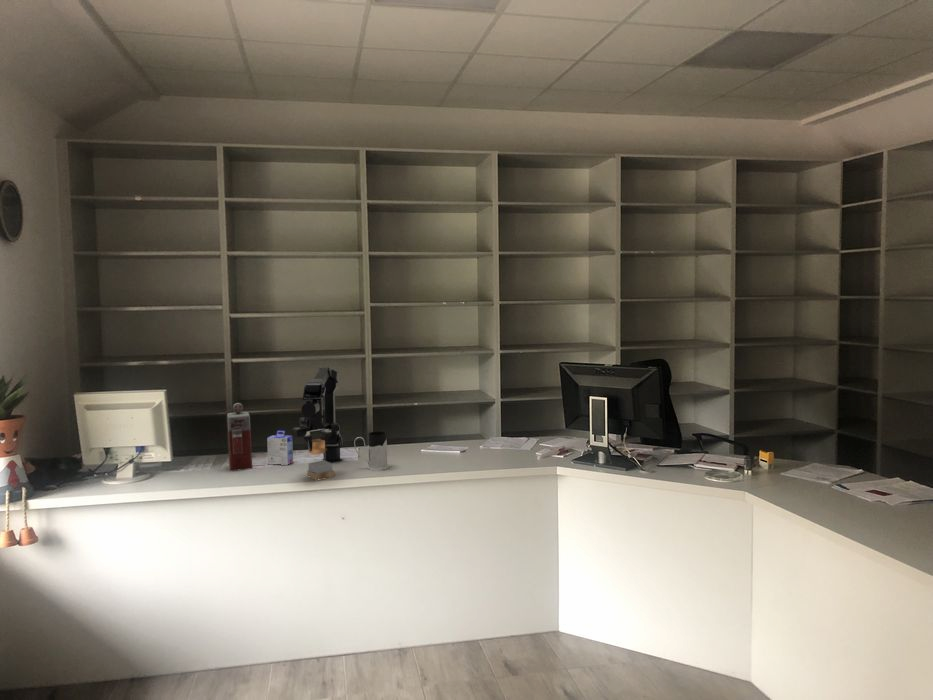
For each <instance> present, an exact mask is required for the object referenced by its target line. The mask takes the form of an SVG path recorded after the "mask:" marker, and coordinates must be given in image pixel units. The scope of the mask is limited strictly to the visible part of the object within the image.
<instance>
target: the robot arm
mask: <svg viewBox="0 0 933 700" xmlns="http://www.w3.org/2000/svg"><path fill="white" fill-rule="evenodd" d="M339 383H340V374H339V372H338V371H336V370H334V369H332V367H330V366H320V367H318V371H317V373H316V375H315V376H314V377H313V379H309V380H308V381H307V382H306V383H305V385H304V387H303V394H302V400H303V401H305V403H303V404H302V406H301V413H302V415H303V416H302V417H298V425H299V426H298V427H293V428H292V429H291V436H293V437H296V438H301V437H302V438H303V439H304V441H305V443H306V445H307V448H309V450H310V451H312V440H313V435H311V433H316V432H317V433H318V432H320V438H319V439H321V440H324V441H325V453H322V455H323V458H322V461H323V460H324V461H327V462H330V463H335V462H339V461H342V460H343V458H341V448H343V447H344V445H343V444H344V443H343V438H342V436H341V433H340V431H341V426H340V424H338V422H337V423H336V396H335V395H336V390H338V387H339ZM323 399H324V410H323ZM323 411H324V412H323ZM323 413H324V414H323ZM305 417H306V418H305ZM309 450H308V451H309Z"/></svg>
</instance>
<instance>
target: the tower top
mask: <svg viewBox="0 0 933 700" xmlns="http://www.w3.org/2000/svg"><path fill="white" fill-rule="evenodd" d="M307 464H308V465H307V467H308V470H309V471H311V472H313V473H316V474H319V473H324V472H328V471H332V470H333V462H327V461H324V460H323V459H322V460H318V461H313V462H308V463H307Z"/></svg>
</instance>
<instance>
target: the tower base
mask: <svg viewBox="0 0 933 700" xmlns="http://www.w3.org/2000/svg"><path fill="white" fill-rule="evenodd" d="M306 474H307V477H308V476H310V477H311V478H310V477H309V478H310V479H312V478H313V479H312V480H314V479H315V480H314V481H316V480H317V481H319V480H318V479H322V480H324V479H323V478H327V479H330V478H329V477H332V478H335V470H333V469H332V471H328V472H324V473H319V474H316V473H313V472H311V471H309V469H307V473H306Z"/></svg>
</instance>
